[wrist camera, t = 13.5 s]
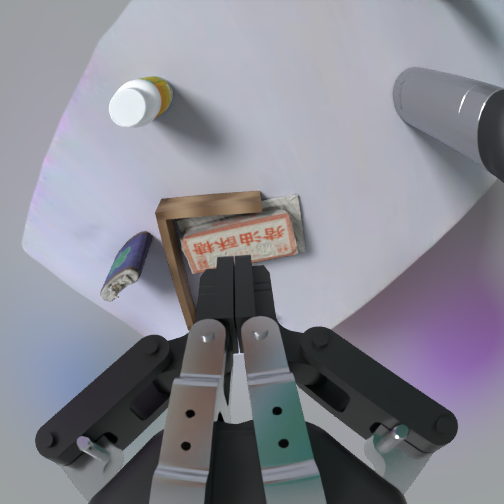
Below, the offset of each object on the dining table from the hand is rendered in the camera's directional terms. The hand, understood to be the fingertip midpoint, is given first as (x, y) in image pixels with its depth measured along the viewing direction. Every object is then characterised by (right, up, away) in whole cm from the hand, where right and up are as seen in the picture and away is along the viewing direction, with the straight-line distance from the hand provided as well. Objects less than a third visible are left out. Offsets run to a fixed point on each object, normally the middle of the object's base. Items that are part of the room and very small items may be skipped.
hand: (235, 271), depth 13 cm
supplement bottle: (-12, +20, +18) cm, 30 cm away
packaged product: (-1, +4, +32) cm, 32 cm away
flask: (-19, +2, +32) cm, 37 cm away
